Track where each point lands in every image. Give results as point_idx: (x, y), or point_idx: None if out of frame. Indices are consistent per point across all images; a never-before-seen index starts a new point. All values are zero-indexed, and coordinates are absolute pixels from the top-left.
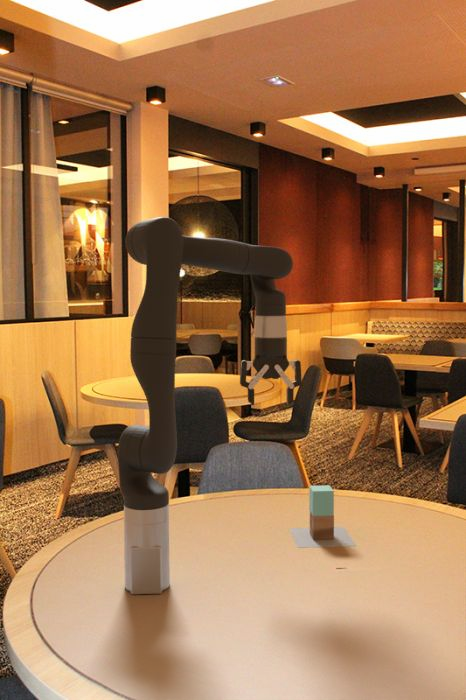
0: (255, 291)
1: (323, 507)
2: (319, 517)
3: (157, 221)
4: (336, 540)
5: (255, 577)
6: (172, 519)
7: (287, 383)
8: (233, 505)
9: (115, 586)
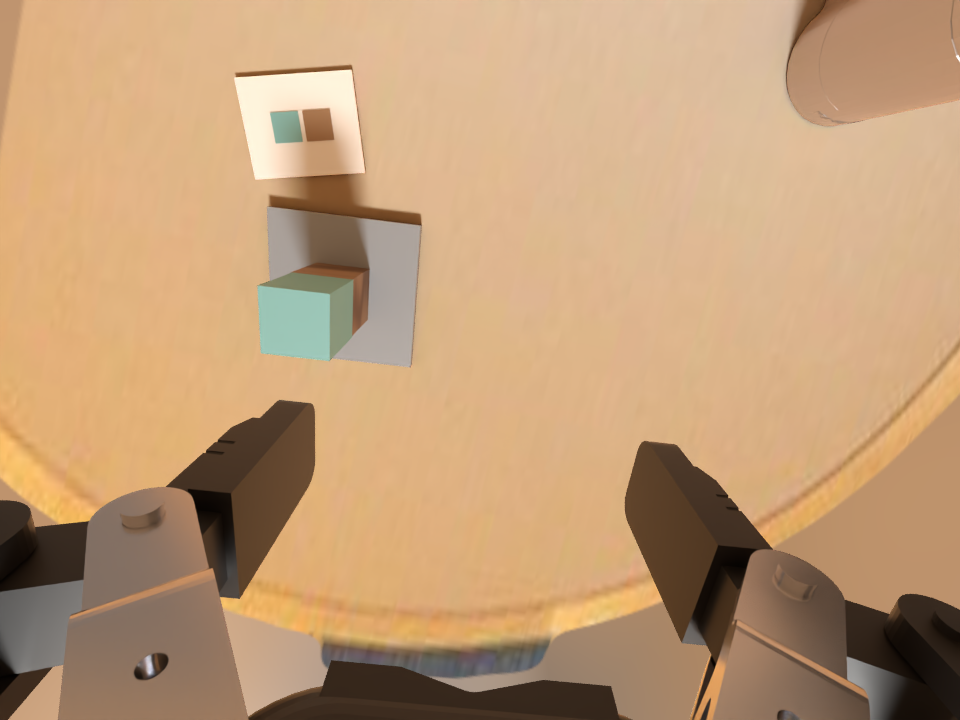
0: None
1: (313, 280)
2: (335, 276)
3: None
4: (311, 256)
5: (568, 64)
6: None
7: (182, 554)
8: (499, 556)
9: None
